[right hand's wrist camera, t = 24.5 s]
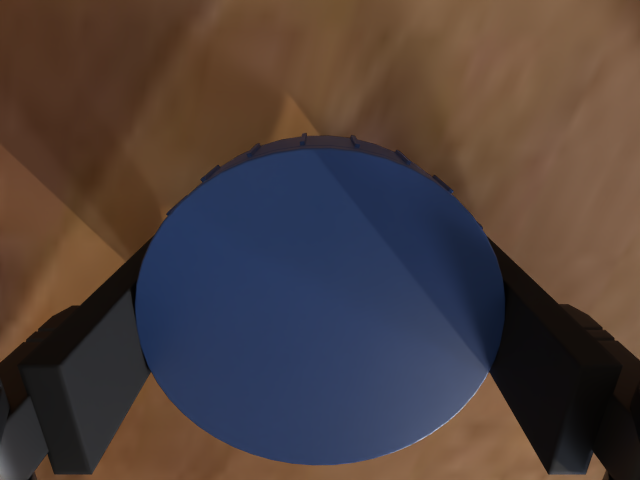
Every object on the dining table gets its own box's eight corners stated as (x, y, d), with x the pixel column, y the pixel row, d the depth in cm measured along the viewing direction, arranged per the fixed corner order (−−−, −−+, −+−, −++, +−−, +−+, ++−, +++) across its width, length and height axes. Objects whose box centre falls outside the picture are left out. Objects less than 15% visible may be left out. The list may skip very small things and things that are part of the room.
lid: (464, 96, 10) (497, 100, 8) (488, 388, 13) (515, 439, 12) (110, 175, 11) (66, 196, 9) (217, 433, 14) (202, 488, 12)
